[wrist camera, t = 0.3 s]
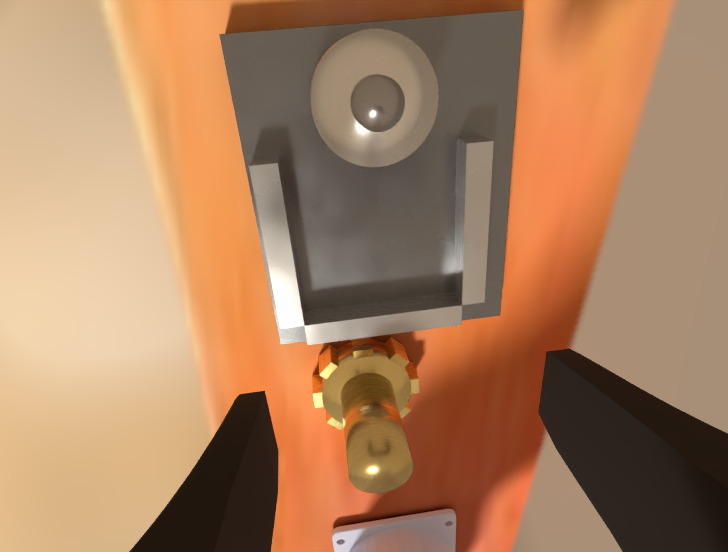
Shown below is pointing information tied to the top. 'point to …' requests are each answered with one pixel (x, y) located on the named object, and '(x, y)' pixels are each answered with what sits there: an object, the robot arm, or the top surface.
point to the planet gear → (369, 408)
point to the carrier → (379, 169)
